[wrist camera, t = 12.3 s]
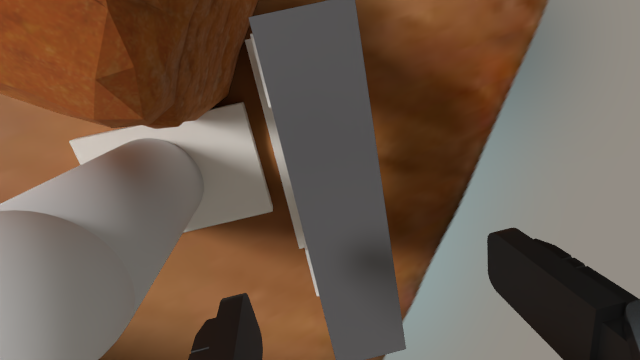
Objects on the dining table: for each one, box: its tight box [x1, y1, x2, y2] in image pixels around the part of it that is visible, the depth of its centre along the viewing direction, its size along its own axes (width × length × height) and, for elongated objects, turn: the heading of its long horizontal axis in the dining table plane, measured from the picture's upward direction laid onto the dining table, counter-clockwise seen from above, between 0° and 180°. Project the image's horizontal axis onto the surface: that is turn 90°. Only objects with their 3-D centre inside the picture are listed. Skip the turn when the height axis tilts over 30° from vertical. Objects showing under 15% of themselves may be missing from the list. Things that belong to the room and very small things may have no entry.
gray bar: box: [248, 0, 406, 360], centre depth 18 cm, size 18×4×6 cm, turn 12°
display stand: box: [0, 34, 319, 360], centre depth 20 cm, size 22×19×19 cm
